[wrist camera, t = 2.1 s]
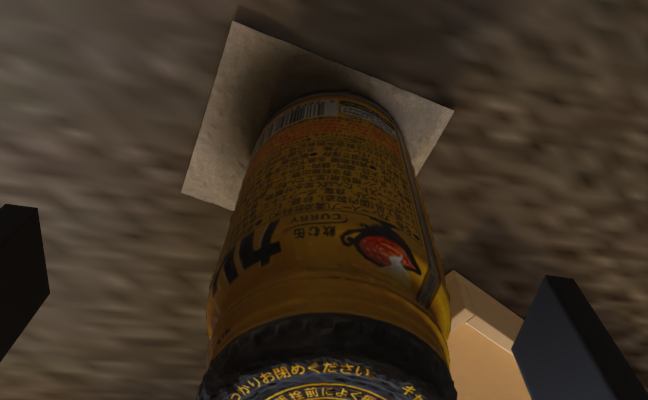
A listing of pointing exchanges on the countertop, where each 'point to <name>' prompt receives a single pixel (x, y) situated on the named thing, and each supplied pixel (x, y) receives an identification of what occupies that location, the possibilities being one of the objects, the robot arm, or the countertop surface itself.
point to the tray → (482, 344)
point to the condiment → (319, 232)
